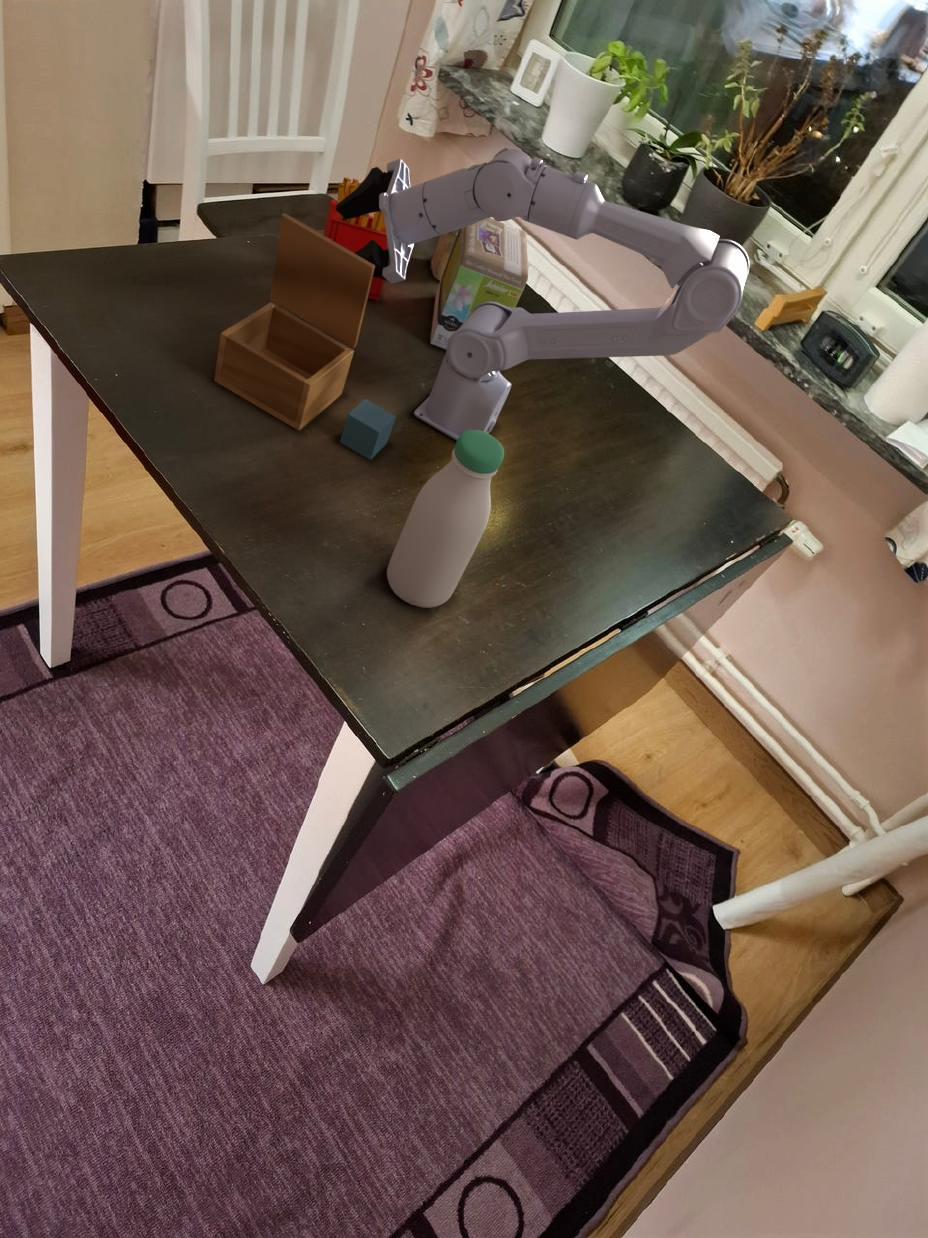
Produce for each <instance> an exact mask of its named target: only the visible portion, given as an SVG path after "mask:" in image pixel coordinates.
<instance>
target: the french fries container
mask: <svg viewBox="0 0 928 1238" xmlns="http://www.w3.org/2000/svg"><path fill="white" fill-rule="evenodd" d="M359 183H360V180H359V179H358V178H354V177H353V178H352V179H351V178H350V177H348V176H347V177H345V176H344V177H343V180H342V182H338V185H337V186H338V187H337V200H336V199H333V198H331V200H330V204H329V209H328V213H327V217H326V222H325V227H324V232H323V235H324V236H325V237H327V238H329V239H331V240H332V241H334V242H336V243H337V244H339V245H341V246H343V247H344V248H346V249H348V250H349V251H351V252H353V253H355V252H356V251H358V250H360V249H361V248H363V247H364V246H365V245H366V244H367V243H368V242H369V241H370V240H374V241H375V242H376V243H377V244H378V245H380V246H381V247H382V249H383V250H385V249H387V234H386V227H385V221H384V214H383V212H382V211H379V212H373V213H374V214H373V216H371V215H370V213H369V214H365V215H362V216H359V217H356V218H351V219H345V218H344V217H343V216H342V215H341V214H340V213H339V212H338V211H337V210H336V205H337V204H338V203H340V202H341V201H342V200H343V199H345V198H346V197H347V196H348V195H350V194H351V193H352V192H353V191H354V190H355V189H356V188H358V186H359ZM384 281H385V280H383V279H379V278H375V277H373V278H372V282H371V286H370V290H369V295H368V299H371V300H374V301H379V298H380V294H381V290H382V287H383V284H384Z"/></svg>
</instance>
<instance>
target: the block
mask: <svg viewBox="0 0 928 1238" xmlns="http://www.w3.org/2000/svg"><path fill="white" fill-rule="evenodd" d="M396 418H397V416H396V415H394V414H393V413H391V412H389V411H388V410H386V409H384V408H383V407H381V406H379V405H377V404H376V403H373V402H372V401H371V400H369V399H367V398H364V399H363V400H362V401H361V402H360V403H358V404H357V405H356V406H354V408H352V410H350V412H348V414H347V415H346V419H345V423H344V426H343V430H342V433H341V436H340V440H339V443H340V444H342V445H344V446H346V447H347V448H349V449H350V450H352V451H354V452H355V453H357V454H358V455H361V456H362V457H364V458H366V459H367V460H369V461H371V460H372V459H373V458H374V457H375V456H376V455H377V454H378V453H379V452H380V451H381V450H382V449H383V448H384V447H385V446H386V445H387V443H388V440H389V438H390V435H391V432H392V429H393V426H394V423H395V420H396Z"/></svg>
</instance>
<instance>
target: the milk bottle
mask: <svg viewBox="0 0 928 1238" xmlns="http://www.w3.org/2000/svg"><path fill="white" fill-rule="evenodd" d="M504 449H505V448H504V447H503V445H502V443H501V442H500V441H499V440H498V439H497V438H496V437H494V436H493V435H491V434H489V433H485V432H483V431H479V430H468V431H465V432H463V433H462V434H461V435H460V436H459V438H458V440H457V441H456V442H455V444H454V448H453V450H452V452H451V460H450V461H449V462H448V463H447V464H446V465H445V466H444V467H443V468H441V469H440V470H439V471H437V472H436V473H435V474H433V475H432V476H431V477H430V478H429V479H428V480H427V481H426V482H425V483H424V484H423V486H422V487H421V489H420V491H419V492H418V494H417V496H416V499H415V500H414V503H413V505H412V506H411V508H410V511H409V514H408V515H407V518H406V521H405V523H404V526H403V528H402V530H401V532H400V535H399V538H398V540H397V542H396V545H395V547H394V549H393V552H392V554H391V556H390V560H389V562H388V566H387V569H386V577H387V581H388V585H389V586H390V589H391V590H392V591H393V593H394V594H395V595H396V596H397V597H398V598H400V599H401V600H402V601H404V602H406V603H408V604H409V605H412V606H415V607H417V608H425V609H426V608H429V609H432V608H437V607H438V606H441V605H443V604H445V603H446V602H448V601H449V600H450V598H451V597H452V596H453V593H454V592H455V590H456V588H457V586H458V584H459V582H460V581H461V579H462V576H463V574H464V573H465V571H466V569H467V567H468V565H469V563H470V561H471V559H472V558H473V555H474V553H475V552H476V549H477V547H478V545H479V543H480V541H481V539H482V538H483V535H484V533H485V530H486V528H487V526H488V522H489V520H490V516H491V508H492V507H491V506H492V501H491V500H492V499H491V498H492V497H491V482H492V477H494V476H495V475H496V474H497V472H498V469H499V468H500V467H501V465H502V463H503V460H504V457H505V450H504Z"/></svg>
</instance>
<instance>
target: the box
mask: <svg viewBox="0 0 928 1238" xmlns="http://www.w3.org/2000/svg"><path fill="white" fill-rule="evenodd" d="M354 353H355V350H354V349H353V348H352V347H349V346H348V345H346V344H345V343H343V342H341V341H340V340H338V339H336V338H334V337H333V336H331V335H329V334H328V333H326V332H324V331H322V330H321V329H319V328H317V327H316V326H314V325H312V324H310V323H309V322H307V321H305V320H304V319H302V318H300V317H298V316H297V315H295V314H293V313H292V312H290V311H288V310H287V309H285V308H283V307H281V306H280V305H277V304H276V303H275V302H273V301H271V302H269V303H266V305H264V306H262V307H261V308H259V309H258V310H256V311H254V312H253V313H251V314H249V315H248V316H246V317H245V318H243V319H241V320H240V321H238V322H236V323H235V324H233V325H232V326H230V327H228V328H227V329H225V330H224V331H222V332H221V333H220V337H219V346H218V350H217V358H216V359H217V360H216V364H215V365H216V366H215V371H214V372H215V373H214V382H215V383H217V384H218V385H220V386H222V387H224V388H225V389H227V390H228V391H230V392H232V393H234V394H235V395H237V396H239V397H241V398H243V399H244V400H245V401H247V402H249V403H250V404H253V405H254V406H256V407H257V408H258V409H261V410H263V411H264V412H266V413H268V414H269V415H271V416H273V417H275V418H276V419H278V420H280V421H281V422H283V423H285V424H287V425H288V426H290V427H292V428H293V429H295V430H296V431H301V430H302V429H303V428H305V426H307V425H308V424H309V423H310V422H311V421H313V420H314V419H315V418H316V417H317V416H318V415H320V414H321V413H322V412H324V410H326V408H328V407H329V406H330V405H331V404H333V403H334V402H335V401H336V400H337V399H338V398H339V397H341V396H342V394H343V391H344V387H345V384H346V381H347V377H348V374H349V371H350V367H351V362H352V359H353V356H354Z"/></svg>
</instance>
